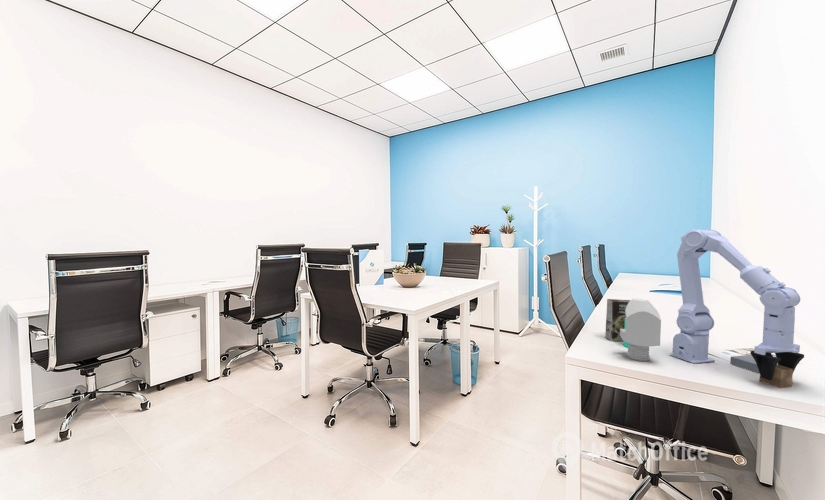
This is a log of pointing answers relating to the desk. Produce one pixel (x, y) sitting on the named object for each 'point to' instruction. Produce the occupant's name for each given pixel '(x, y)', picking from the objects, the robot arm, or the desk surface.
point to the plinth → (745, 362)
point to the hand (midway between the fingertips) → (775, 377)
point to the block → (780, 377)
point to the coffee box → (615, 318)
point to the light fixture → (641, 328)
